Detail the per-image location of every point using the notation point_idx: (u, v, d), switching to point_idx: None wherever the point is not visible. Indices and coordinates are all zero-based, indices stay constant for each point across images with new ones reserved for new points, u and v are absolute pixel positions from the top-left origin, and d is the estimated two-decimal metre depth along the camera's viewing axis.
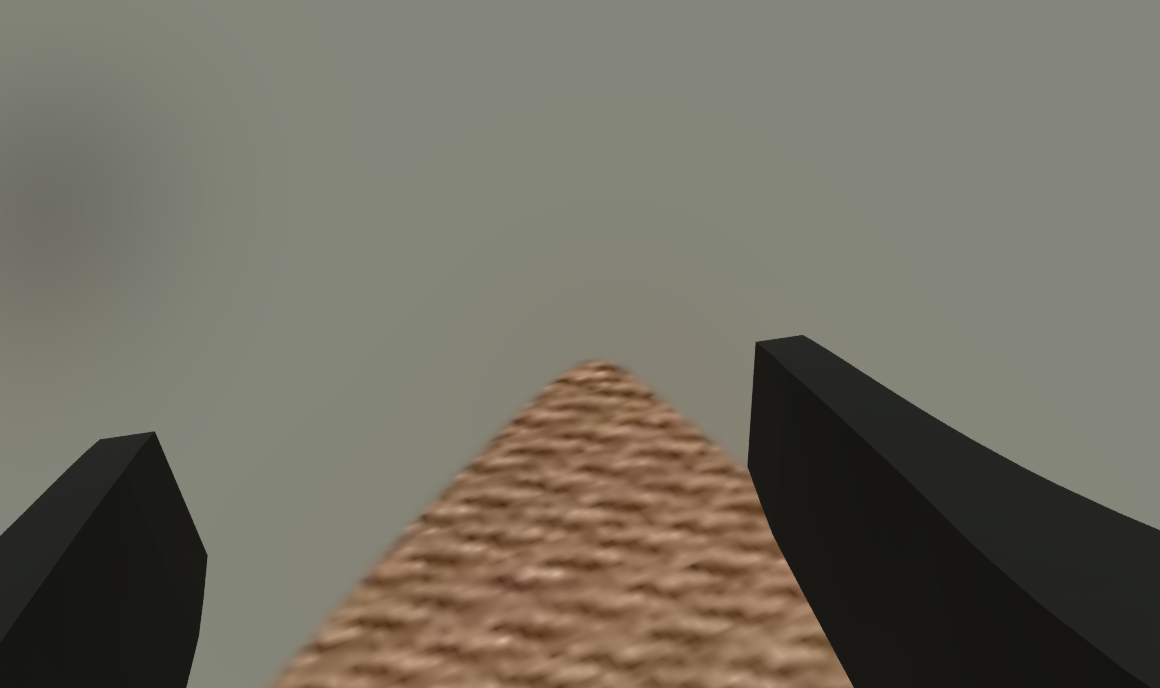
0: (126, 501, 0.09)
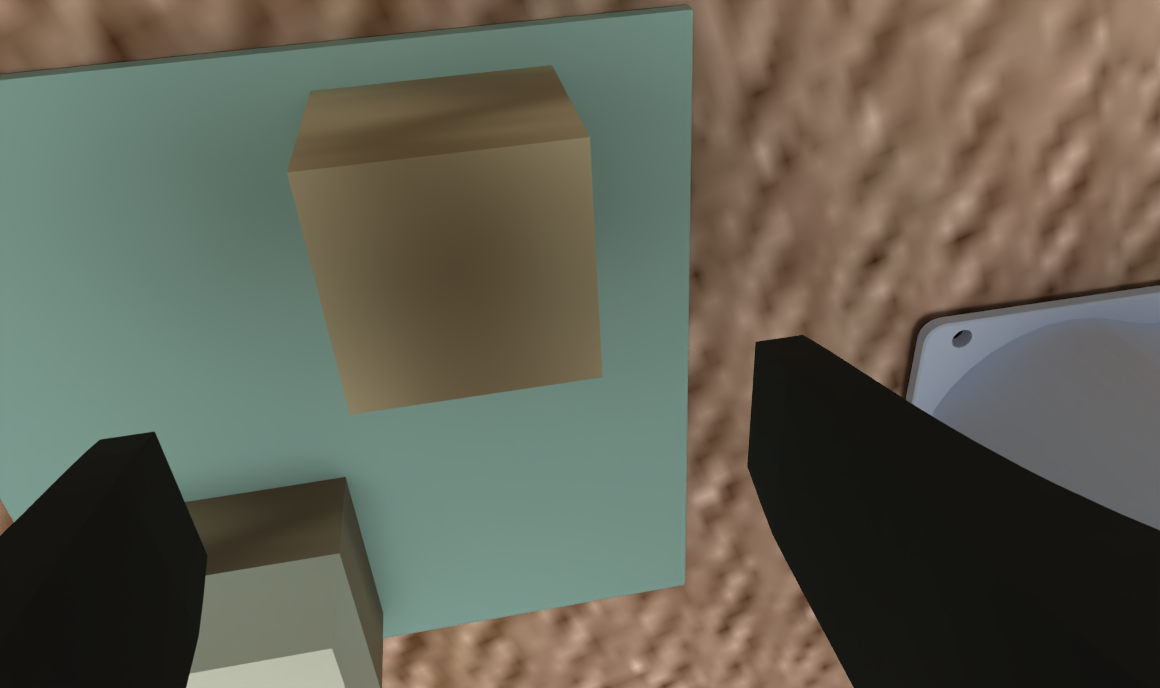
0: (126, 501, 0.09)
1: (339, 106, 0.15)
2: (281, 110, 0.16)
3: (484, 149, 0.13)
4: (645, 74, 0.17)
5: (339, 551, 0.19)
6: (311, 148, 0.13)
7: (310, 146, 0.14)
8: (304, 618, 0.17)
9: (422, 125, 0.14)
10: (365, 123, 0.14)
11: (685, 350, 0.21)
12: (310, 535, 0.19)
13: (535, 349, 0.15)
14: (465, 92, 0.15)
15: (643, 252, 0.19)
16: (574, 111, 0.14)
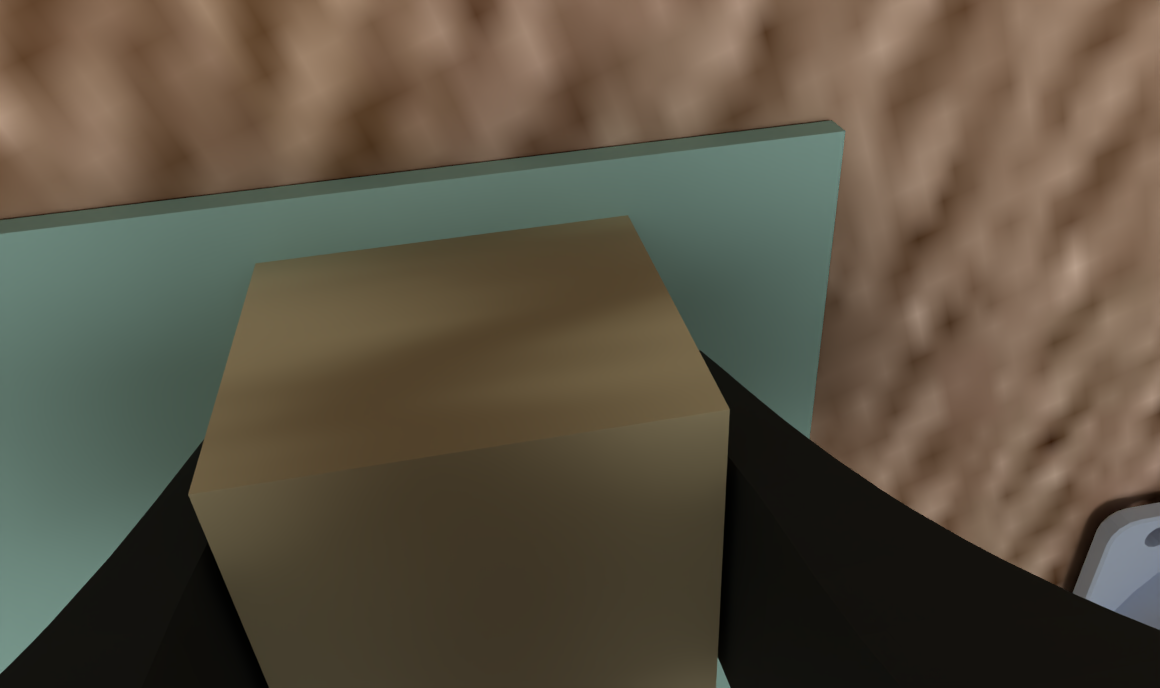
0: None
1: (297, 304, 0.09)
2: (211, 292, 0.10)
3: (545, 438, 0.07)
4: (766, 223, 0.11)
5: None
6: (240, 420, 0.08)
7: (239, 414, 0.08)
8: None
9: (432, 361, 0.08)
10: (336, 350, 0.09)
11: None
12: None
13: None
14: (499, 277, 0.10)
15: None
16: (687, 334, 0.08)
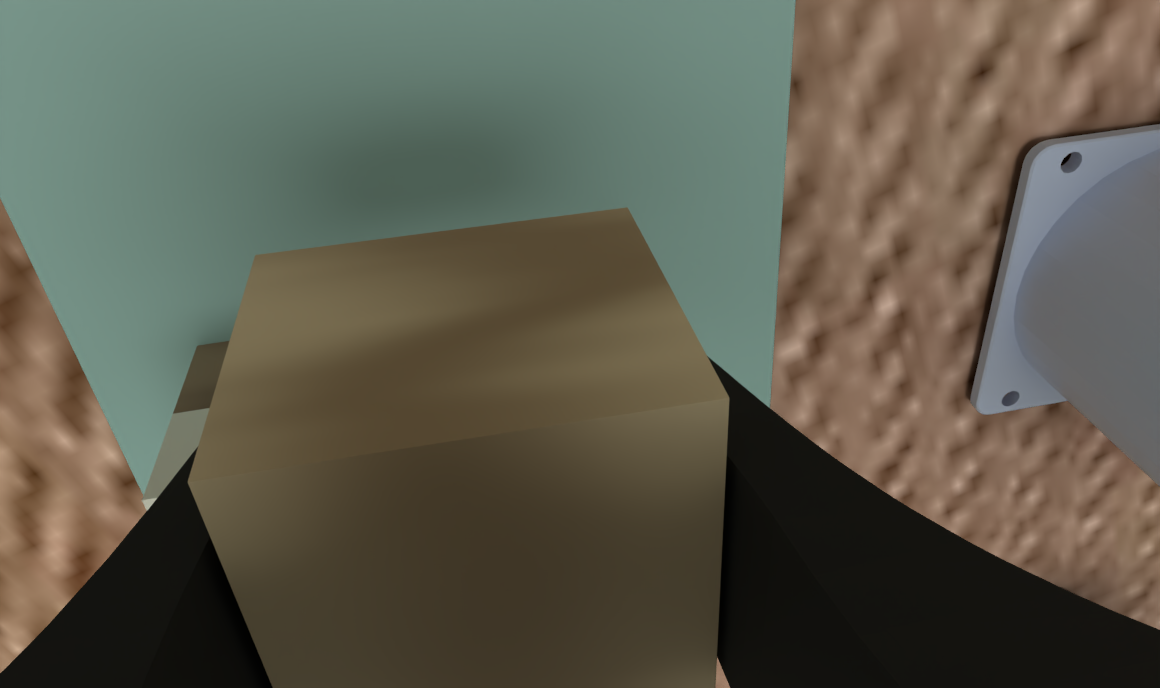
0: None
1: (297, 295, 0.09)
2: None
3: (544, 426, 0.07)
4: None
5: None
6: (239, 409, 0.08)
7: (239, 403, 0.08)
8: None
9: (432, 351, 0.08)
10: (336, 339, 0.09)
11: (781, 170, 0.19)
12: None
13: (613, 686, 0.09)
14: (499, 268, 0.10)
15: (744, 49, 0.18)
16: (686, 324, 0.08)
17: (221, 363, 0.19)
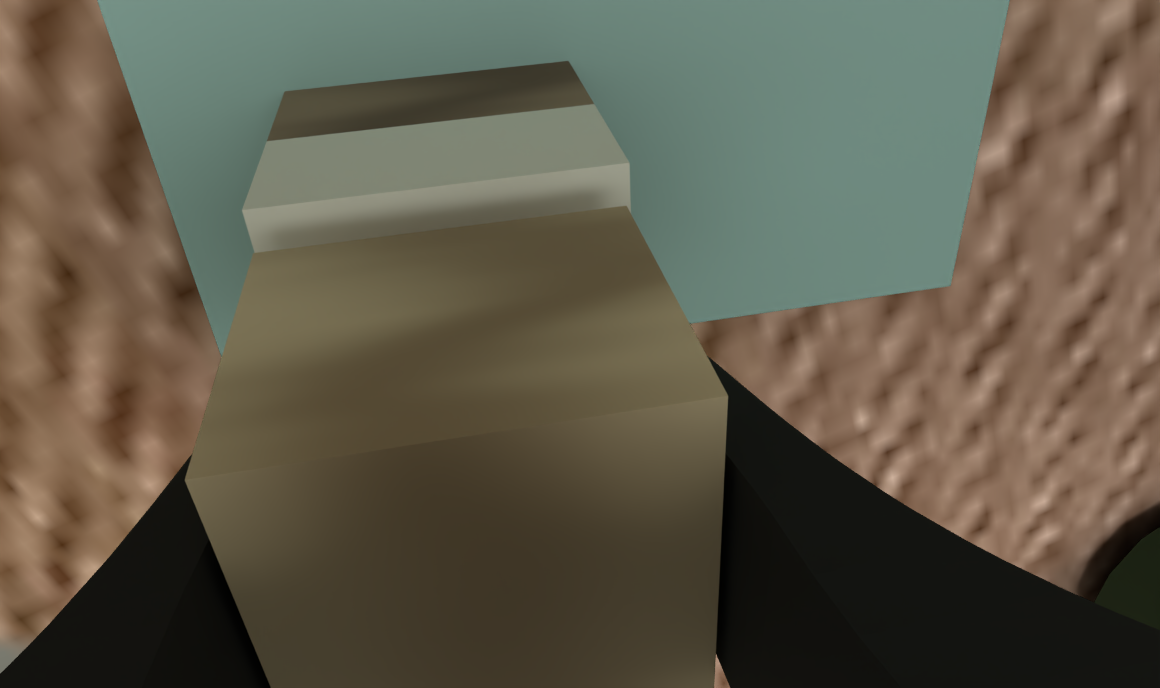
0: None
1: (295, 293, 0.09)
2: None
3: (543, 424, 0.07)
4: None
5: (593, 103, 0.14)
6: (237, 405, 0.08)
7: (236, 401, 0.08)
8: (573, 145, 0.12)
9: (431, 350, 0.08)
10: (333, 337, 0.09)
11: None
12: (545, 95, 0.14)
13: (611, 685, 0.09)
14: (497, 266, 0.10)
15: None
16: (685, 322, 0.08)
17: (320, 103, 0.14)
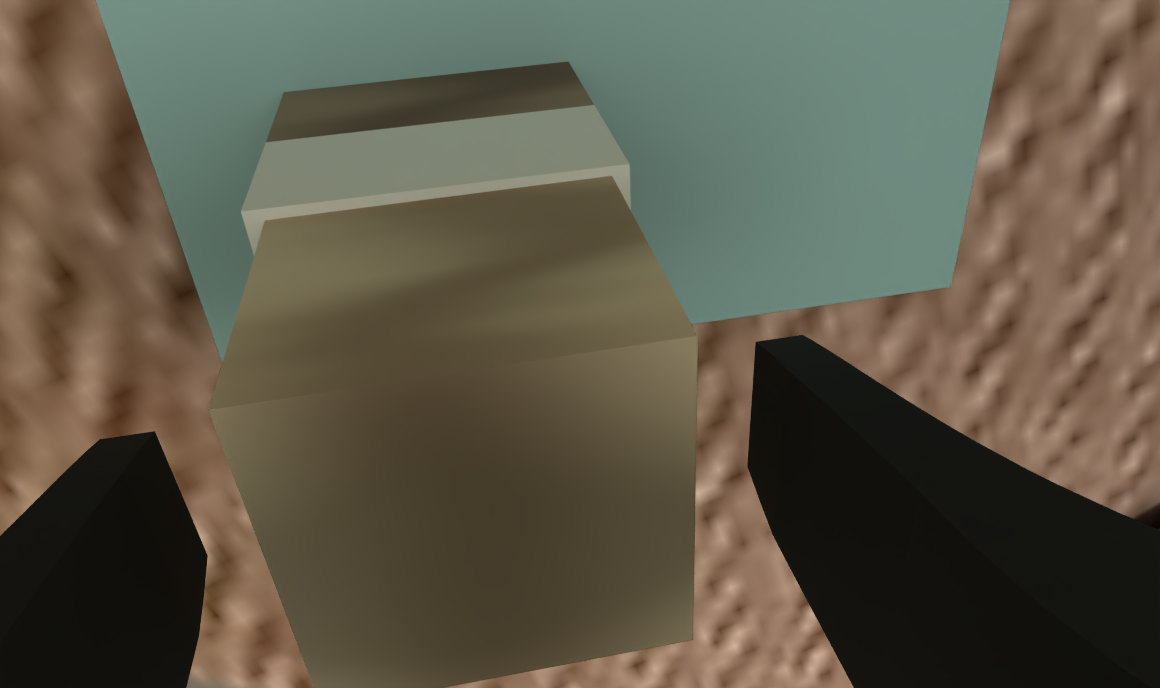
0: (126, 501, 0.09)
1: (304, 254, 0.10)
2: None
3: (530, 361, 0.08)
4: None
5: (592, 104, 0.14)
6: (254, 350, 0.09)
7: (252, 345, 0.09)
8: (573, 146, 0.12)
9: (429, 300, 0.09)
10: (340, 292, 0.09)
11: None
12: (545, 96, 0.14)
13: (597, 614, 0.10)
14: (492, 228, 0.10)
15: None
16: (662, 275, 0.09)
17: (319, 103, 0.14)
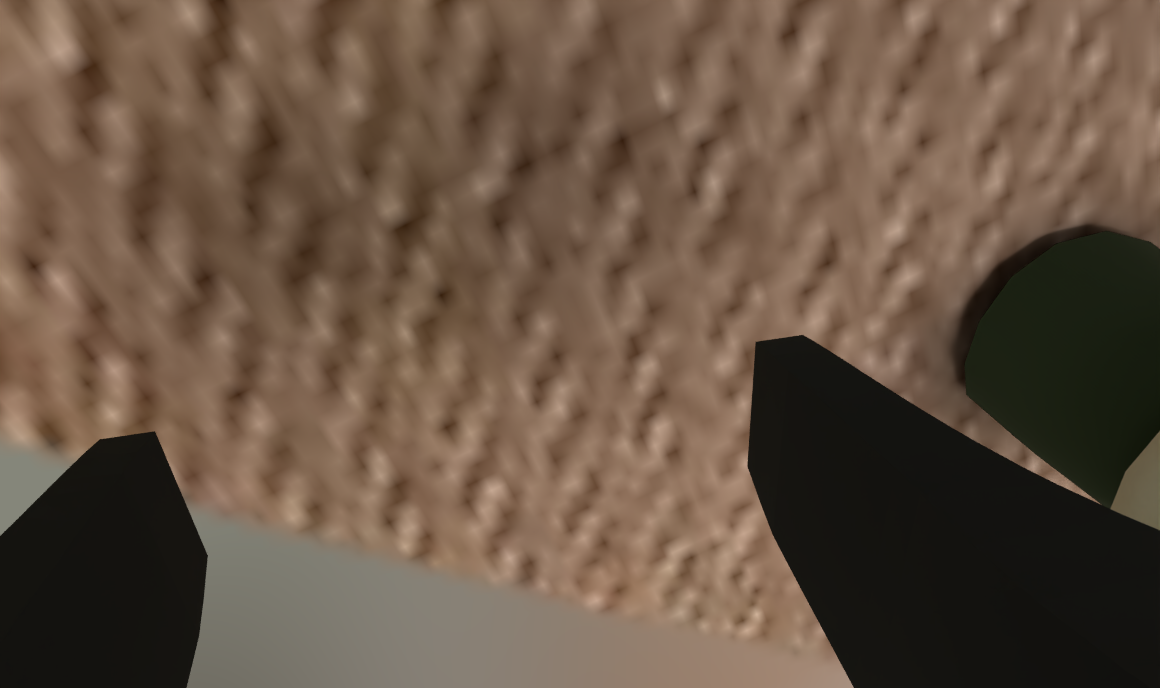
0: (126, 500, 0.09)
1: None
2: None
3: None
4: None
5: None
6: None
7: None
8: None
9: None
10: None
11: None
12: None
13: None
14: None
15: None
16: None
17: None
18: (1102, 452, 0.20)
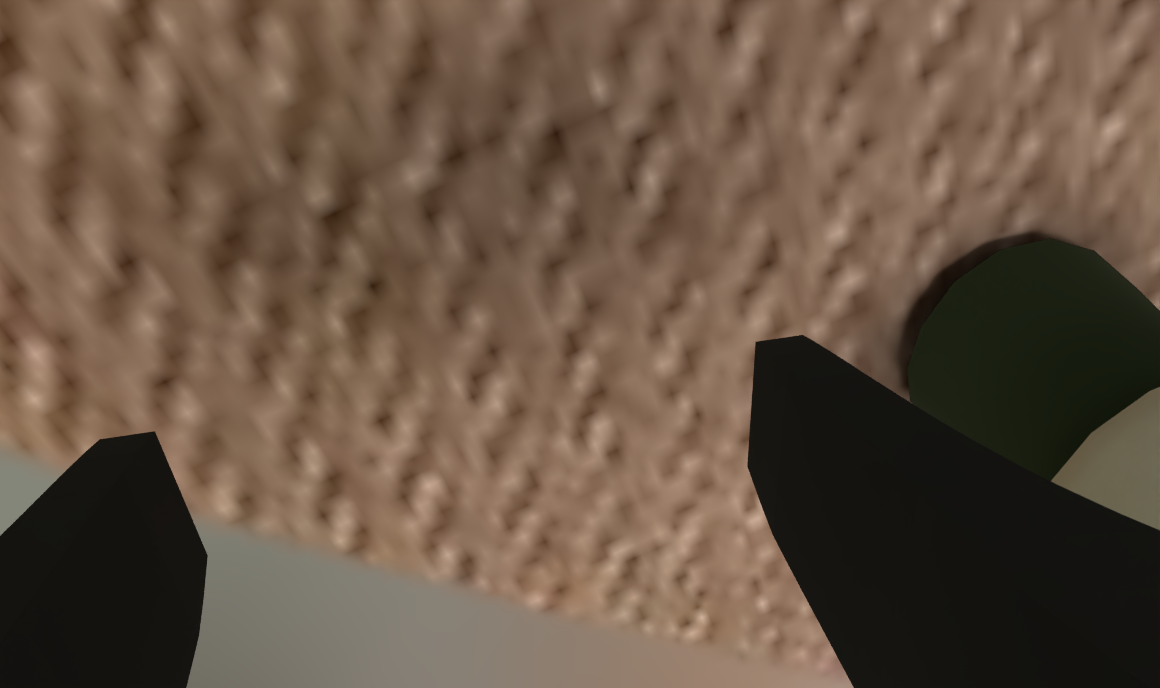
0: (126, 501, 0.09)
1: None
2: None
3: None
4: None
5: None
6: None
7: None
8: None
9: None
10: None
11: None
12: None
13: None
14: None
15: None
16: None
17: None
18: (1033, 460, 0.20)
